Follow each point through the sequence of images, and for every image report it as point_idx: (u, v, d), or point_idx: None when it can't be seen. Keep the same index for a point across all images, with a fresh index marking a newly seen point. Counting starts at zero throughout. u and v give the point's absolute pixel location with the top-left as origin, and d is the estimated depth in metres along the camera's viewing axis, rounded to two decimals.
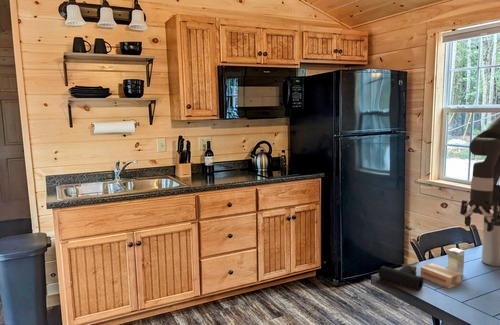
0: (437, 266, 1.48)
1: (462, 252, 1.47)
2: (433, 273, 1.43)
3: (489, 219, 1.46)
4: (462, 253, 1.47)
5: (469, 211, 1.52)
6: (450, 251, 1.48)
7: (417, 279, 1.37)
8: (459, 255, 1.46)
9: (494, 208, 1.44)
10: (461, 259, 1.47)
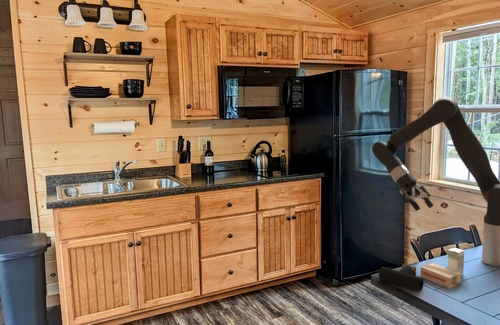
0: (437, 266, 1.48)
1: (462, 252, 1.47)
2: (433, 273, 1.43)
3: None
4: (462, 253, 1.47)
5: None
6: (450, 251, 1.48)
7: (418, 280, 1.36)
8: (459, 255, 1.46)
9: None
10: (461, 259, 1.47)
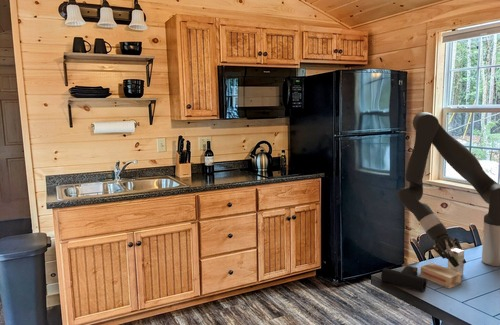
0: (437, 266, 1.48)
1: (462, 252, 1.47)
2: (433, 273, 1.43)
3: None
4: (462, 253, 1.47)
5: None
6: (450, 251, 1.48)
7: (421, 280, 1.36)
8: (459, 255, 1.46)
9: None
10: (461, 259, 1.47)
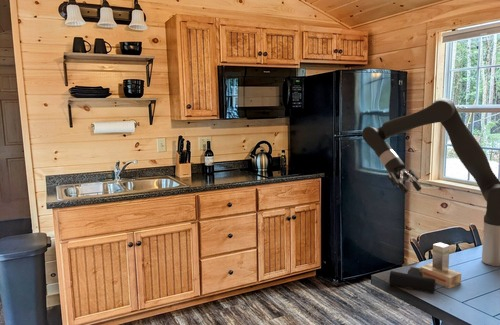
0: None
1: (447, 247, 1.42)
2: (433, 273, 1.43)
3: None
4: (447, 248, 1.42)
5: None
6: (435, 246, 1.43)
7: (432, 281, 1.34)
8: (444, 250, 1.41)
9: None
10: (446, 254, 1.42)
